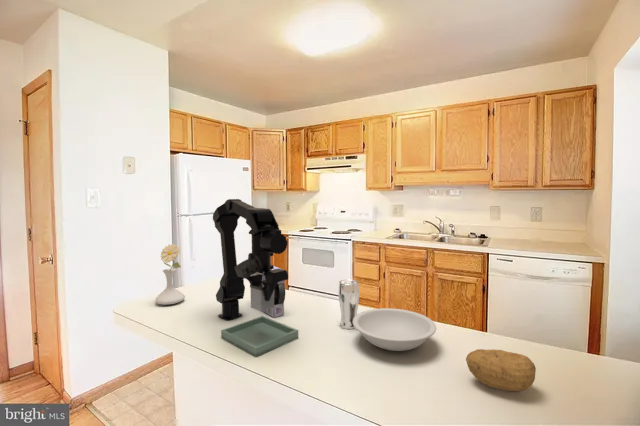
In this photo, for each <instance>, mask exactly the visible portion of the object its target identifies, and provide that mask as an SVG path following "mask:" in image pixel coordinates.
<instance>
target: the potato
mask: <svg viewBox="0 0 640 426" xmlns="http://www.w3.org/2000/svg"><path fill="white" fill-rule="evenodd" d="M465 361H466V364H467V369H468V371H469V372H470V373H471V374H472V375H473V377H474V378H476V380H477V381H478V382H479V383H482V384H483V385H484V386H488V387H491V388H493V389H497V390H501V391H506V392H520V391H522V392H523V391H526V390H527V389H529V388H530V387H531V386H533V384H534V382H535V379H536V370H537V368H536V365H535V363H534V362H533V360H531V359H530V358H529V357H528V356H526V355H524V354H523V353H522V354H521V353H517V352H516V353H515V352H511V351H506V350H502V349H480V348H479V349H478V348H477V349H475V350H473V351H469V353H468V354H467V355H466V357H465Z"/></svg>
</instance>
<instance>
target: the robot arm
mask: <svg viewBox="0 0 640 426" xmlns="http://www.w3.org/2000/svg"><path fill="white" fill-rule="evenodd" d="M240 217H241V218H243V219H245V224H246V225H248V227H249V228H250V230H249V231H248V234H249V235H251V236H250V237H251V252H249V253H248V255H247V259H245V260H243V261H242V262H239V263H237V261H238V260H237V253H236V252H237V251H236V243H235V242H236V241H235V232H236V229H237V227H238V223H239V219H240ZM212 221H213V222H214V227H215V229H216V230H217V232H218V233H219V234H220V236H219V237H220V246H221V254H222V255H221V256H222V268H223V274H222V277H221V279H220V280H219V288H218V290H217V292H216V294H215V299H216V302H217V303H220V304H221V313H219V314H218V317H219V318H221V319H222V320H225V321H230V320H233V319H236V318H240V317H242V316H243V314H242V313H241V312H240V306H239V304H240V302H239V301H240V300H242V299H244V296H245V291H246V290H245V289H246V287H245V286H246V285H245V283H244V282H245V281H244V280H245V279H246V280H247V281H248V282H249V286H250V285H251V284H255V283H259V282H262V283H263V285H264V289H265V299H266V301H269V300H270V298H271V296H272V293H273V291H274V289H275V287H276V285H277V284H278V282H280V281H284V280H285V281H287V280H289V272H288V271H287V270H286V269H283V268H281V269H275V270H270V269H274V266H275V265H274V264H273V265H272V262H271V261H272V260H271V257H273V256H274V254H277V255H280V254H283V253H284V252H285V251H286V250H287V248H288V240H287V238H286V236H285V235H284V234H282V229H280V228H279V224H278V222H277V220H276V218H275V215H274V213H273V211H272V210H271V209H270V208H263V207H262V208H261V207H255V206H253V205H251V204H250V203H249V204H248V203H247V202H245V201H242V199H239V198H229V199H226V200H225V202H224V203H223V204H221V205H219V206H218V207H216V209H215V210H214V212H213V213H212ZM264 272H265V273H264ZM262 276H265V280H262Z"/></svg>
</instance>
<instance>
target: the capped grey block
mask: <svg viewBox="0 0 640 426" xmlns="http://www.w3.org/2000/svg"><path fill="white" fill-rule="evenodd" d="M249 289H250V308H251V309H254V310H256V311H259V312H262V311H263V310H266V309H269V308H272V307H274V294H273V293H272V296H271V298H270V300H269V301H266V299H265V289H264V285H263V283H262V282H259V283H255V284H251V285H250V284H249Z"/></svg>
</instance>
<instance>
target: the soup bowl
mask: <svg viewBox="0 0 640 426" xmlns="http://www.w3.org/2000/svg"><path fill="white" fill-rule="evenodd" d="M353 326H354V327H355V329H356V331H358V332H359V333H360V334H361V335H362V337H363V338H364V339H365V340H366V341H367V342H369V343H370V344H371V345H373V346H375V347H377V348H380V349H383V350H387V351H394V352H404V351H410V350H412V349H416V348H418V347H420V346H422V344H424V342H426V341H427V340H428V338H430V337H432V336H433V335H434V334H436V331H437V325H436V324H435V322H434V320H433V319H431V318H430V317H428V316H426V315H424V314H422V313H419V312H415V311H412V310H407V309H402V308H391V307H390V308H387V307H386V308H385V307H383V308H373V309H369V310H368V309H367V310H363V311H361V312H359V313H357V315H356V316H355V317H354V318H353Z"/></svg>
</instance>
